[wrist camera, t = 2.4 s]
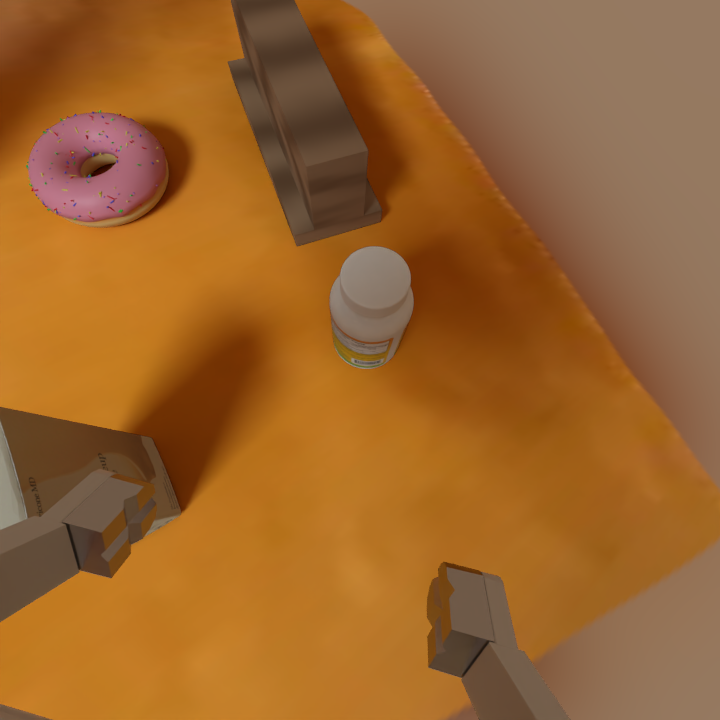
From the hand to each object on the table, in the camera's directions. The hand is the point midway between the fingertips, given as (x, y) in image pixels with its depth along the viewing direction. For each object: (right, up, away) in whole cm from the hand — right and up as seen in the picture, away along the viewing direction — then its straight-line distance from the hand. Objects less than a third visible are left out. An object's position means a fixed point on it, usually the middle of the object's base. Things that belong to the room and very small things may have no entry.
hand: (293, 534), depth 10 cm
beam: (-4, +26, +25) cm, 36 cm away
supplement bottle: (+2, +7, +19) cm, 20 cm away
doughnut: (-21, +21, +23) cm, 37 cm away
